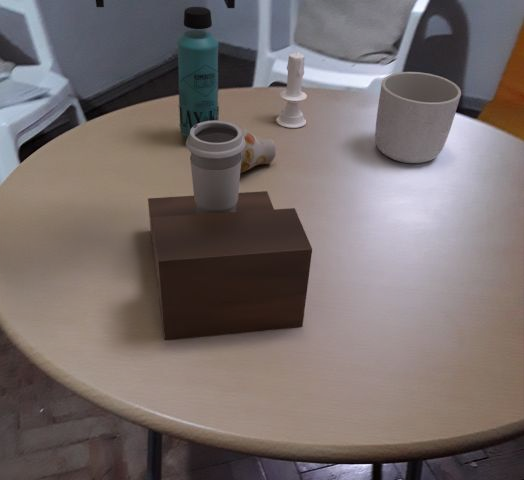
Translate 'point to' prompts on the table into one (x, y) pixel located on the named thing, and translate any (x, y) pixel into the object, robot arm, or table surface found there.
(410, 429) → the table surface
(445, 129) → the planter
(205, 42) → the beverage bottle
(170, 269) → the step shelf
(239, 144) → the cup
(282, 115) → the candle
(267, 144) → the floral vase
